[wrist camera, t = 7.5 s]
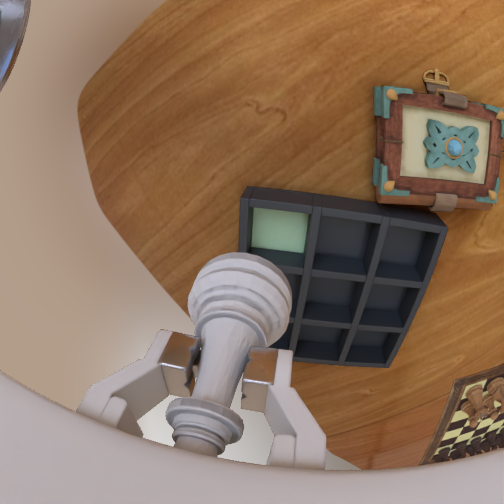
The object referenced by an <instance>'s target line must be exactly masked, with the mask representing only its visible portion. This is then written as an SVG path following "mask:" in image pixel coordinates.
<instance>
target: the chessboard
mask: <svg viewBox="0 0 504 504" xmlns="http://www.w3.org/2000/svg"><path fill="white" fill-rule="evenodd" d="M497 445H498V446H499V448H504V364H503V365H500V366H497V367H494V368H492V369H489V370H486V371H483V372H480V373H477V374H474V375H470V376H467V377H464V378H460V379H457V380H454V383H453V386H452V389H451V392H450V395H449V398H448V400H447V403H446V406H445V408H444V411H443V414H442V416H441V419H440V421H439V423H438V426H437V428H436V430H435V433H434V435H433V437H432V439H431V442H430V444H429V446H428V448H427V450H426V452H425V454H424V456H423V458H422V460H421V462H420V464H419V465H426V464H432V463H439V462H445V461H450V460H449V459H450V458H452V460H456V459H461V458H465V456H466V453H468V454H470V456H474V455H475V453H476V455H478V454H482V452H481V450H484V451H485V453H486V452H490V446H491V447H492V451H493V450H497ZM480 448H481V449H480ZM475 450H476V451H475Z"/></svg>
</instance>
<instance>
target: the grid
mask: <svg viewBox="0 0 504 504" xmlns="http://www.w3.org/2000/svg"><path fill="white" fill-rule="evenodd" d="M447 231H448V227H447V226H446V224H445V223H444V222H443V221H442V220H441V219H440V218H439V217H438V216H437V214H436V213H432V212H427V211H422V210H416V209H411V208H405V207H400V206H394V205H388V204H382V203H376V202H370V201H364V200H357V199H351V198H344V197H337V196H330V195H322V194H315V193H307V192H299V191H290V190H281V189H272V188H262V187H252V186H247V188H246V190H245V191H244V193H243V195H242V197H241V198H240V222H239V250H238V253H248V254H252V255H257V256H260V257H262V258H264V259H266V260H268V261H270V262H271V263H273V264H274V265H275V266H276V267H277V268H279V269H280V270H281V271H282V273H283V274H284V275H285V277H286V278H287V280H288V282H289V284H290V287H291V290H292V309H291V312H290V315H289V323H288V326H287V329H286V331H285V332H284V334H283V335H282V336H281V337H280V339H278V340H277V341H276V342H274V343H273V344H271V345H270V346H268V347H267V348H276V349H283V350H292V351H293V360H292V361H297V362H307V363H317V364H328V365H341V366H357V367H376V368H383V367H384V368H389V367H390V365H391V363H392V361H393V359H394V357H395V356H396V354H397V352H398V350H399V348H400V346H401V344H402V342H403V340H404V338H405V336H406V334H407V332H408V330H409V328H410V325H411V323H412V321H413V319H414V317H415V315H416V312H417V310H418V308H419V306H420V303H421V301H422V299H423V296H424V294H425V291H426V289H427V286H428V284H429V281H430V279H431V276H432V274H433V271H434V268H435V266H436V263H437V260H438V258H439V255H440V252H441V249H442V246H443V243H444V240H445V237H446V234H447Z"/></svg>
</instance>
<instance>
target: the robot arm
mask: <svg viewBox="0 0 504 504" xmlns="http://www.w3.org/2000/svg"><path fill="white" fill-rule="evenodd" d="M201 345H202V343H201V338H200V337H196V336H191V335H187V334H182V333H178V332H173V331H168V330H164V329H161V330H160V331H159V332H158V334H157V335H156V337H155V339H154V341H153V343H152V344H151V346H150V348H149V350H148V352H147V354H146V355H145V357H144V359H143V360H142V359H139V360H137V361H135V362H133V363H132V364H130V365H128V366H126V367H125V368H123V369H121V370H119V371H117V372H116V373H114V374H112V375H110V376H108V377H106V378H105V379H103V380H101V381H99V382H97V383H95V384H94V385H92V386H91V387H90V388H89V390H88V392H87V393H86V395H85V397H84V398H83V400H82V402H81V403H80V405H79V407H78V408H77V410H76V412H75V411H73V410H71V409H69V408H67V407H65V406H63V405H61V404H58V403H57V402H55V401H53V400H50V399H49V398H47V397H45V396H43V395H41V394H39V393H37V392H36V391H34V390H32V389H30V388H28V387H27V386H25V385H23V384H22V383H20V382H18V381H17V380H15V379H13V378H12V377H10V376H9V375H7V374H5V373H4V372H2V371H1V370H0V504H504V448H500V449H497V450H493V451H490V452H486V453H482V454H478V455H474V456H470V457H465V458H461V459H456V460H450V461H445V462H439V463H433V464H426V465H419V466H410V467H401V468H389V469H373V470H325V458H326V435H325V434H324V432H323V431H322V429H321V428H320V426H319V425H318V423H317V422H316V420H315V419H314V417H313V416H312V414H311V413H310V411H309V410H308V408H307V407H306V405H305V404H304V402H303V401H302V399H301V398H300V396H299V395H298V393H297V391H296V390H295V388H291V387H290V382H291V371H292V360H293V351H292V350H283V349H276V348H267V347H259V346H252V345H251V346H250V348H249V352H248V363H247V364H246V366H245V370H244V374H243V379H242V398H241V409H245V410H251V411H257V412H263V413H264V415H265V417H266V419H267V421H268V423H269V425H270V427H271V430H272V432H273V433H274V440H273V443H272V447H271V450H270V454H269V457H268V460H267V465H259V464H252V463H246V462H239V461H234V460H228V459H223V458H217V457H213V456H208V455H203V454H199V453H195V452H191V451H187V450H183V449H179V448H175V447H171V446H168V445H164V444H161V443H158V442H154V441H151V440H148V439H145V438H142V437H143V433H142V431H141V429H140V427H139V425H138V423H137V420H138V419H139V418H141V417H142V416H143V415H144V414H146V413H147V412H148V411H150V410H151V409H152V408H153V407H155V406H156V405H157V404H159V403H160V402H161V401H163V400H164V399H165V398H166V397H168V395H169V394H170V395H175V396H180V397H191V396H192V394H193V390H194V386H195V378H196V377H197V375H198V370H199V364H200V359H201V350H200V347H201Z"/></svg>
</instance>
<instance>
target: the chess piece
mask: <svg viewBox="0 0 504 504" xmlns="http://www.w3.org/2000/svg"><path fill="white" fill-rule="evenodd" d="M291 309H292V290H291V287H290V284H289V282H288V280H287V278H286V277H285V275H284V274H283V273H282V271H281V270H280V269H279V268H277V267H276V266H275V265H274V264H273V263H271V262H270V261H268V260H266V259H264V258H262V257H260V256H257V255H252V254H248V253H228V254H223V255H219V256H217V257H215V258H214V259H212V260H210V261H208V262H207V264H206V265H205V266H204V267H203V268H202V269H201V270H200V272H199V274H198V275H197V278H196V280H195V282H194V284H193V287H192V290H191V292H190V294H189V296H188V310H189V313H190V317H191V320H192V322H193V324H194V325H195V332H194V333H195V336H196V337H200V338H201V343H202V345H201V359H200V364H199V370H198V375H197V379H196V383H195V386H194V390H193V394H192V397H182V398H177V399H175V400H173V401H171V403H170V404H169V406H168V409H167V411H166V420H167V421H168V423H169V424H170V425H171V426H172V427H173V429H174V432H173V434H172V438H173V440H174V441H175V445H174V446H173V447H175V448H179V449H183V450H187V451H191V452H195V453H199V454H203V455H208V456H213V457H217V455H219V454H222V453H223V452H224V450H225V446H226V445H227V444H232V443H235V442H237V441H238V440H240V439H241V437H242V434H243V430H244V424H243V420H242V419H241V418H240V416H239V415H238V414H236V413H235V412H234V411H233V410H231V409H230V406H231V403H232V399H233V396H234V394H235V390H236V388H237V385H238V383H239V380H240V378H241V376H242V373H243V371H244V369H245V366H246V364H247V363H248V352H249V348H250V346H251V345H252V346H259V347H268V346H270V345H271V344H273V343H274V342H276V341H277V340H278V339H280V337H281V336H282V335H283V334H284V332H285V331H286V329H287V326H288V323H289V315H290V312H291Z"/></svg>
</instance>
